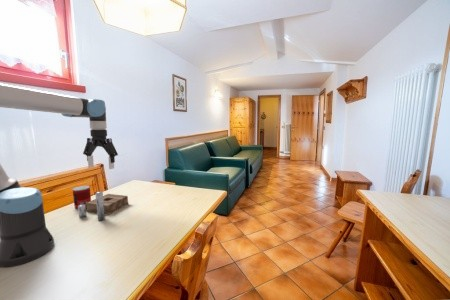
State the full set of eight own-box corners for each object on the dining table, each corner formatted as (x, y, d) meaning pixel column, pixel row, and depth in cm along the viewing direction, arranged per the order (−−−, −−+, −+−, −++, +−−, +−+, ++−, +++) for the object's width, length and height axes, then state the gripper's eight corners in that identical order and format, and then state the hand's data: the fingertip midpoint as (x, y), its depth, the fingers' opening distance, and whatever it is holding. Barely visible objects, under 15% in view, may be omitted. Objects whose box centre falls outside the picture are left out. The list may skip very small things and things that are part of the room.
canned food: (94, 203, 116) (92, 185, 115) (83, 209, 108) (81, 190, 107) (82, 203, 117) (80, 185, 115) (71, 208, 109) (68, 189, 107)
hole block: (108, 214, 102) (107, 205, 101) (87, 211, 105) (86, 202, 105) (128, 204, 115) (127, 195, 114) (108, 201, 119) (108, 193, 118)
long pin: (101, 221, 95) (98, 193, 93) (96, 220, 96) (93, 193, 94) (106, 218, 98) (104, 191, 96) (101, 217, 99) (99, 191, 97)
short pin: (82, 218, 98) (81, 207, 97) (77, 217, 99) (76, 206, 98) (87, 215, 101) (86, 204, 100) (83, 214, 102) (82, 203, 101)
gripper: (123, 129, 106) (125, 167, 108) (86, 128, 111) (88, 165, 114) (112, 129, 98) (115, 170, 101) (73, 129, 104) (76, 168, 107)
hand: (101, 168), depth 107 cm, fingers open, 13 cm apart
